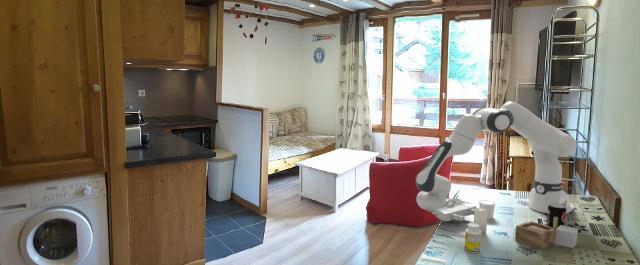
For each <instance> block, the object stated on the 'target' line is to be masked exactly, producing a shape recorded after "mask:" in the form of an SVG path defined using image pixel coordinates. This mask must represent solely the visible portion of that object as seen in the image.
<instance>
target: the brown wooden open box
mask: <svg viewBox="0 0 640 265" xmlns="http://www.w3.org/2000/svg"><path fill="white" fill-rule="evenodd" d="M514 237H515V238H514V241H517V242H519V243H522V244H524V245H527V246H530V247H531V248H532V247H533V248H535V249H538V250H543V249H546V248H547V247H550V246H553V245H556V244H555V237H556V229H554V228H551V227H548V226H546V224H545V225H544V224H542V223H539V222H535V221H533V220H530V221H526V222H524V223H520V224H517V225H516V227H515V236H514Z"/></svg>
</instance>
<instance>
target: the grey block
mask: <svg viewBox="0 0 640 265" xmlns="http://www.w3.org/2000/svg"><path fill="white" fill-rule="evenodd" d="M578 233H579V228H575V227H571V226H566V225H565V226H562V225H560V226H559V227H558V228H557V229H556V236H555V244H554V245H559V246H563V247H566V248H569V249H570V248H571V249H574V247H575V246H576V245H577V244H578V235H579V234H578Z"/></svg>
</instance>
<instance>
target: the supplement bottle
mask: <svg viewBox="0 0 640 265" xmlns="http://www.w3.org/2000/svg"><path fill="white" fill-rule="evenodd" d="M464 232H465V233H464V235H465V236H464V250H465V251H466V253H469V254H472V255H473V254H474V255H477V254H479V253H480V252H481V250H482V249H481V247H482V235H481V230H479V225H478V224H475V223H474V222H469V223H467V228H466V229H465V231H464Z"/></svg>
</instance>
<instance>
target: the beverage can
mask: <svg viewBox="0 0 640 265" xmlns="http://www.w3.org/2000/svg"><path fill="white" fill-rule="evenodd" d="M566 211H567V210H566V206H565V205H562V204H558V203H550V204H549V206H548V212H547V213H546V214H547V216H546V224H545V226H548V227H551V228H554V229H557V228H558V227H559V226H560V225H562V226H566V220H567V214H566Z"/></svg>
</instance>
